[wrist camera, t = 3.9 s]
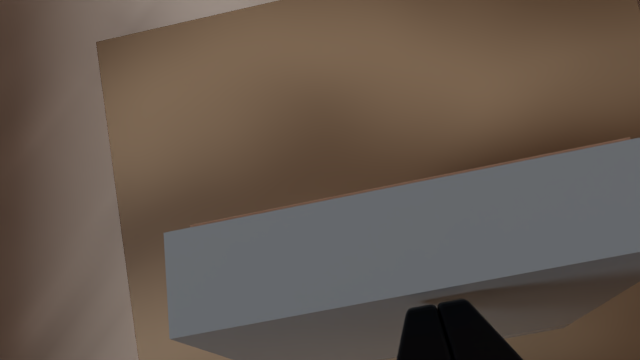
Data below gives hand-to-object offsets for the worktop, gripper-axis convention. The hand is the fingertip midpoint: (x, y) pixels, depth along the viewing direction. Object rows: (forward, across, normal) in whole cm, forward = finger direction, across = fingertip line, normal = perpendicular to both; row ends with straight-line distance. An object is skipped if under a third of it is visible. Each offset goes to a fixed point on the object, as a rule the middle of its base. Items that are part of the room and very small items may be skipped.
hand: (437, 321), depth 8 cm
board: (+7, 0, +4) cm, 8 cm away
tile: (+4, 0, +6) cm, 7 cm away
